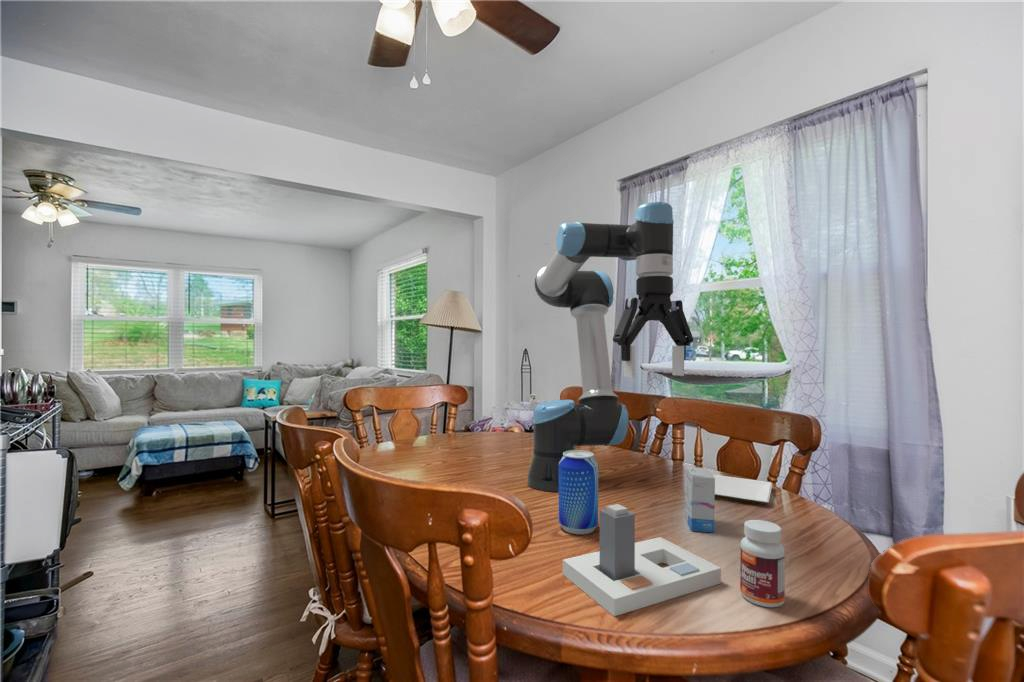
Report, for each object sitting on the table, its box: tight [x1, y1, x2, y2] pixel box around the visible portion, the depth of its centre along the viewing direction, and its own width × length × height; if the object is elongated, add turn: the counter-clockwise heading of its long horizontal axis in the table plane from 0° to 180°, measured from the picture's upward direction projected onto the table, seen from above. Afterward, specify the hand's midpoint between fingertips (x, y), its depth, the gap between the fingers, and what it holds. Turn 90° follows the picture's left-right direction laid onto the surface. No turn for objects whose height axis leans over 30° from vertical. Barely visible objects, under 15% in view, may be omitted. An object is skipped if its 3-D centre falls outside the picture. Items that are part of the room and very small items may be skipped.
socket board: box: [562, 536, 722, 617], centre depth 80 cm, size 14×22×3 cm, turn 116°
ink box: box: [684, 466, 716, 533], centre depth 104 cm, size 9×5×12 cm, turn 168°
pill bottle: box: [739, 519, 786, 608], centre depth 74 cm, size 6×6×11 cm
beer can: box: [558, 449, 599, 535], centre depth 102 cm, size 8×8×16 cm
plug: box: [599, 503, 636, 581], centre depth 78 cm, size 4×4×13 cm
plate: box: [711, 473, 773, 505], centre depth 127 cm, size 19×19×2 cm
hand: (654, 376), depth 101 cm, fingers open, 13 cm apart
